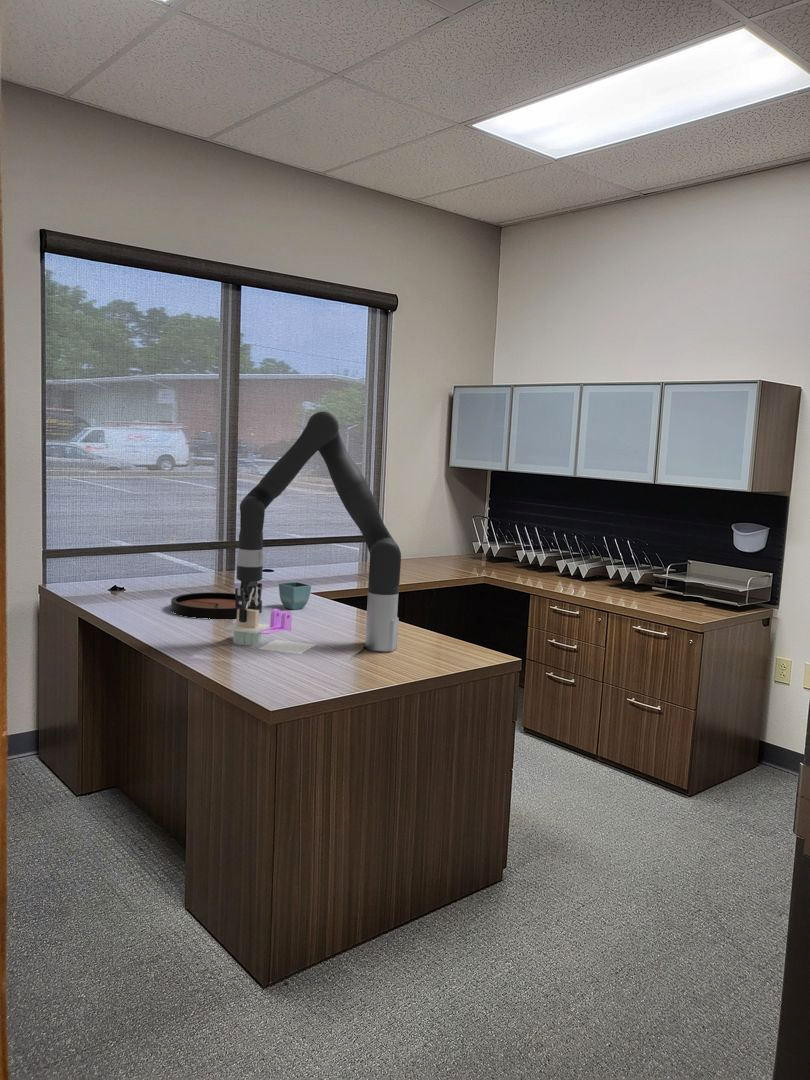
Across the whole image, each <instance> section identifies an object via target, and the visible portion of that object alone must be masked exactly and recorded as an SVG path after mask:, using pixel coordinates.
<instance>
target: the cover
mask: <svg viewBox="0 0 810 1080" xmlns="http://www.w3.org/2000/svg"><path fill="white" fill-rule="evenodd" d="M259 621H260V614H259V610H253V609H247V622H245V623H244V622H239V609H237V619H236V622H235V623H233V624H230V625H227V626H225V627H224V628H223V629H224V631H231V632H233V631H239V632H247V633H255V634H256V633H258V632H260V631H262V632H264V631H263V630H265V629H267V628H269V627H270V624H264V623H263V624H262V623H260V622H259Z"/></svg>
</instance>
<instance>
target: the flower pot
mask: <svg viewBox="0 0 810 1080" xmlns="http://www.w3.org/2000/svg"><path fill="white" fill-rule="evenodd" d="M278 590H279V591H278V594H279V598H280V602H281V604H282V605H283V607H284V608H285V609H289V610H292V609H294V610H301V609H300V608H303V609H304V608H305V606H306V605H307V604H308V601H309V599H310V595H311V590H312V585H311V584H306V583H303V582H299V581H294V582H293V581H292V582H281V583H278Z"/></svg>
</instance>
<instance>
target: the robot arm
mask: <svg viewBox="0 0 810 1080" xmlns="http://www.w3.org/2000/svg"><path fill="white" fill-rule="evenodd" d="M339 426H340V425H339V421H338V419H337V417H336V416H335V414H333V413H331V412H328V411H317V412H315V413H313V414H312V415H311V416H310V418H309V419H308V421H307V424H306V426H305V428H304V429H303V431H302V433H301V434H300V435H299V437H298V438H297V439H296V441H295V442H294V443H293V444H292V445H291V447H290V448H289V449H288V450H287V451H286V452H285V453H284V454H283V455H282V456H281V457H280V459H278V460H277V461H276V462H275V463H274V464H273V466H272V467H271V468H270V469H269V470H268V471H267V472H266V474H265V475H263V477H262V479H260V481H259V482H258V484H257V485H256V486H255V487H254V488H252V489H251V490H250V491H249V492H248V493H247V494H246V496H244V497H243V498H242V500H241V501H240V503H239V516H240V517H239V518H240V519H239V520H240V521H239V522H240V523H239V524H240V525H239V526H240V530H239V532H238V546H237V556H236V580H237V581H240V586H239V588H235V589H234V593H235V605H236V608H238V609H239V622H244V623H245V622H247V608H248V604H249V605H250V606H249V609H253V610H256V608H257V606H258V603H260V601H261V600H262V599H261V598H262V590H263V583H262V582H260V581H262V580H263V572H264V571H263V566H264V554H263V553H264V552H263V551H264V550H263V547H264V544H263V543H264V533H263V531H264V530H263V529H264V523H265V511H266V510H267V508H268V507H269V506H270V504H271V503H272V502H273V501H274V500H276V499H277V498H278V497H279V496H280V495H281V494H282V493H283V492H284V491H285V490H286V488H287V487H288V486H289V485H290V484H291V482H292V481H293V480H294V479H295V478H296V477H297V475H298V474H299V473H300V471H301V470H302V468H303V467H305V465H306V463H307V462H308V461H309V460H310V459H311V458H312V457H313V456H314V455H315V454H316V453H317V452H318V453H319V454H320V456H321V457H322V459H323V461H324V463H325V465H326V467H327V470H328V473H329V476H330V478H331V482H332V483H333V486H334V488H335V490H336V493H337V495H338V497H339V498H340V501H341V503H342V505H343V506H344V509H346V511H347V513H348V515H349V516H350V518H351V519H352V520H353V522H354V523H355V525H356V526H357V527H358V530H359V531H360V533H361V535H362V536H363V539H364V541H365V544H366V547H367V549H368V553H369V568H368V583H367V584H368V586H367V602H366V603H367V606H366V621H365V623H366V625H365V638H364V639H365V640H364V645H365V646H364V648H365V649H366V650H370V651H372V652H373V651H375V652H394V651H395V650H396V649H397V648H398V636H399V623H400V622H399V619H400V617H398V609H399V608H398V606H399V591H400V582H401V579H400V578H401V566H402V554H401V553H402V552H401V550H400V546H399V545H398V543H397V542H396V541H395V540H394V538H393V537H392V535H391V533H390V532H389V531H388V528H387V527H386V525H385V523H384V521H383V520H382V519H383V518H382V517H381V514H380V511H379V508H378V506H377V502H376V500H375V497H374V494H373V493H372V491H371V489H370V485H368V482H367V480H366V478H365V477H364V474H363V473H362V471H361V470H360V468H359V467H358V465H357V464H356V463H355V461H354V460H353V459H352V457H351V456H350V454H349V453H348V451H347V448H346V447H345V445H344V442H343V440H342V437H341V435H340V432H339V429H340V428H339ZM245 602H246V603H245Z"/></svg>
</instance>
